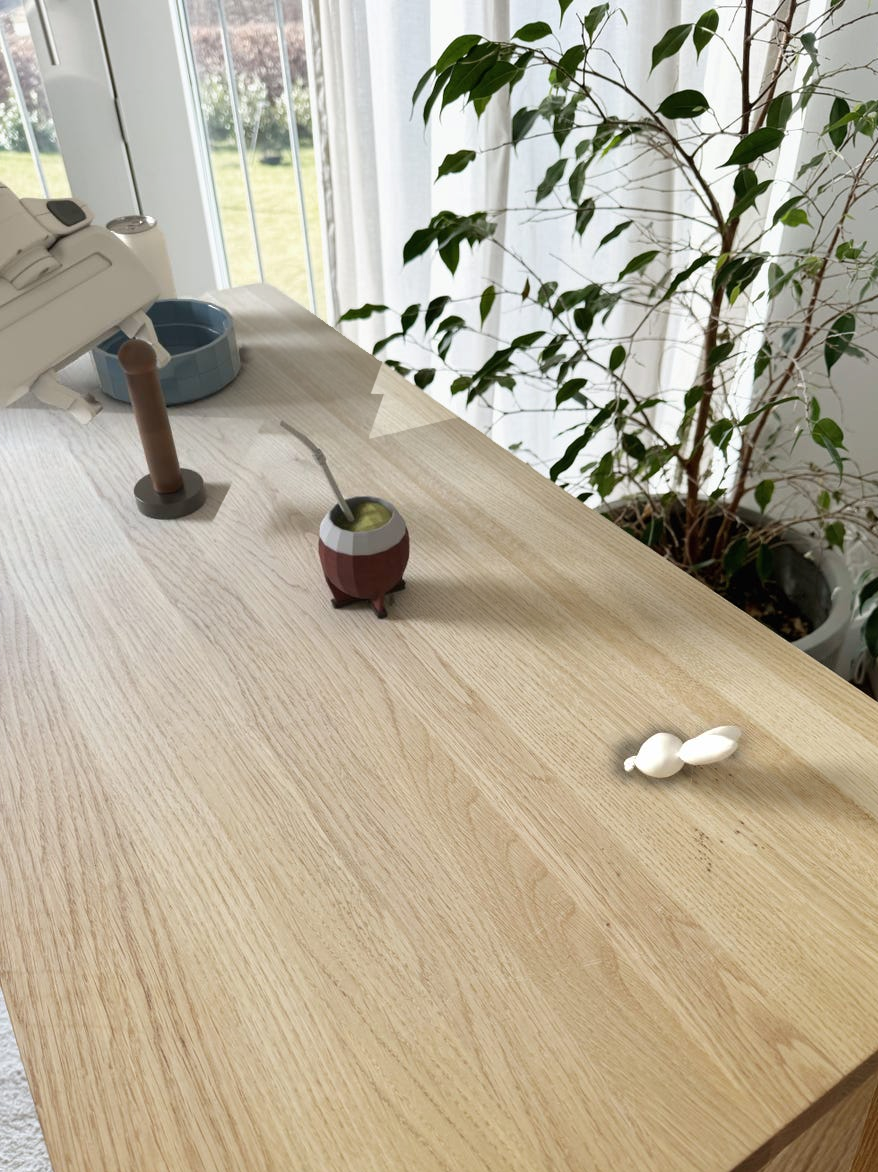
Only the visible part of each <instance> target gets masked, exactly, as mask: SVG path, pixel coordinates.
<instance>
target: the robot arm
mask: <svg viewBox="0 0 878 1172" xmlns="http://www.w3.org/2000/svg"><path fill="white" fill-rule="evenodd" d="M95 217H96V215H95V212H94V211H93V209H92V208H91V207H90V206H89V205H88V204H87V203H86V202H85V201H84V200H82V199H81V198H79V197H59V198H35V197H21V198H20V197H18V196H17V195H16V194H15V193H14V191H13V190H12V189H11V188H10V187H9V186H8V185H6V184H5V183H3V182H2V181H0V408H1V409H3V408H7V407H8V406H9V405H11V404H12V403H14V402H16V401H17V400H19V399H20V398H22V397H23V396H24V395H27V393H29V392H31V393H33V394H34V395H35V396H36V398H37V399H39V401H40V402H43V403H44V404H48V405H50V406H52V407H56V408H57V409H60V410H64V411H68V412H69V413H70V414H71V415H72V416H73V417H74V418H75V419H76V420H77V421H78V422H79V423H80V424H82V425H84V426H87V425H88V424H90V423H91V422H93V421H94V420H95V419H97V418H98V417H99V416H100V414H101V413H102V412H103V411H104V406H103V404H102V403H101V402H100V401H99V400H96V397H95V395H94V394H92V393H91V391H90V390H87V391H86V392H84V393H82V394H81V393H79V392H77V391H75V390H73V389H71V388H69V387H67V386H65V385H64V384H63V385H62V384H61V382H62V380H63V379H62V377H61V376H60V375H59V374H58V373H59V372H60V371H62V370H63V369H65V368H66V367H68V366H69V365H70V364H73V363H74V362H75V361H77V360H78V359H80V358H81V357H82V356H84V355H86V354H87V353H89V351H90V350H92V349H93V348H94V347H96V346H97V345H99V344H100V343H102V342H103V341H105V340H106V339H108V338H109V337H111V336H112V335H114V334H115V333H117V332H118V331H120V330H122V331H123V332H124V333H125V334H126V335H127V336H128V337H129V338H131V339H132V338H133V337H134V336H135V337H136V339H141V340H144V341H146V342H148V343H149V344H150V345H151V346H152V347H153V348H154V350H155V352H156V355H157V365H156V366H157V370H158V371H159V370H160V369H162V368H163V367H165V366H166V365H167V363H168V362H169V361H170V360H171V356H170V354H169V353H168V352H167V351H166V350H165V349H164V348H163V347H162V346H161V344H160V343H159V342H158V339H157V336H156V333H155V330H154V327H153V324H152V321H151V319H150V318H149V317H148V316H147V315H146V314H145V313H146V312H147V311H148V310H149V309H150V308H151V307H152V305H153V304H154V303H155V301H156V300H157V299H158V297H159V296H160V294H161V291H160V287H159V283H158V280H157V278H156V276H155V275H154V274H153V273H152V271H151V270H150V269H149V268H148V267H147V266H146V265H145V264H144V262H143V261H142V260H141V259H140V258H139V257H138V256H137V255H136V254H135V253H134V252H133V251H132V250H131V249H130V248H129V247H128V246H127V245H126V244H125V243H124V242H123V241H122V240H121V239H120V238H119V237H118V236H116V235H115V234H114V233H113V232H111V231H110V230H108V229H106V228H105V226H102V225H98V224H92V223H93V222H94V219H95Z"/></svg>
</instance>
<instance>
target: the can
mask: <svg viewBox="0 0 878 1172" xmlns="http://www.w3.org/2000/svg"><path fill="white" fill-rule="evenodd" d="M104 228H106V229H108V230H110V231H111V232H113V233H114V234H115V235H116V236H118V237H119V238H120V239H121V240H122V241H123V242H124V243H125V244H126V245H127V246H128V247H129V248H130V249H131V250H132V251H133V252H134V253H135V254H136V255H137V256H138V257H139V258H140V259H141V260H142V261H143V262H144V264H145V265H146V266H147V267H148V268H149V269H150V270H151V271H152V273H153V274H154V275H155V276H156V278H157V280H158V283H159V287H160V291H161V294H160V296H159V297H158V299H157V300H163V299H178V296H177V291H176V286H175V281H174V276H173V273H172V267H171V263H170V258H169V253H168V249H167V243H166V239H165V236H164V233H163V231H162V230H161V228H160V227H159V225H158V221H157V219H156V218H155V217H153V216H149V215H142V214H135V215H134V214H133V215H132V214H131V215H123V216H119V217H116V218H113V219H111V220H109V221H108V222H106V224H105V226H104Z"/></svg>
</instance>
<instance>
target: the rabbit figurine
mask: <svg viewBox="0 0 878 1172" xmlns="http://www.w3.org/2000/svg"><path fill="white" fill-rule="evenodd" d="M742 735H743V734H742V730H741V729H740V727H737V726H735V725H722V726H718V727H714V728H712V729H710V730H707V731H705V732H702V733H701V734H699V735H698V736H697V737H694V738H691V739H689V740H687V741H685V742H684V743H683V742H682V740H681V739H680V738H679V737H677V736H676V735H674V734H672V733H668V732H658V733H656V734H654V735H652V736H651V737H650V738H648V739H647V740H646V741H645V742H644V743H643V744H642V745H641V747H640V749H639V752H638V754H637V755H633V756H631V757H628V758H626V760H624V762H623V765H624V770H625V771H626V772H628V773H630V772H631V771H633V769H634V768H635V767H637V769H638V770H639V771H640V772H641V773H643V774H645V775H646V776H648V777H649V776H650V777H653V778H658V779H661V778H669V777H670V776H674V775H676V774H677V773H678V772H679V771H680V770H681V769H682V768H683V767H684V765H685V763H686V764H689V765H693V766H699V765H709V764H713V763H716V762H717V763H718V762H720V761H723V760H725V759H727V758H729V756H731V755H733V753H734V752H735V751H736V750H737V748H738V746H739V744H738V741H739V740H740V739H741V736H742Z"/></svg>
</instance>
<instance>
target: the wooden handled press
mask: <svg viewBox="0 0 878 1172" xmlns="http://www.w3.org/2000/svg"><path fill="white" fill-rule="evenodd" d="M118 362H119V365H120V367H121V368H122V370H123V371H124V375H125V379H126V383H127V387H128V391H129V395H130V399H131V403H132V404H131V403H130V404H131V406H132V410H133V414H134V417H135V421H136V425H137V430H138V433H139V437H140V441H141V445H142V449H143V453H144V456H145V460H146V464H147V468H148V472H149V473H148V474H145V475H144V476H143V477H141V478H140V479H139V480H138V481H137V482H136V483H135V485H134V487H133V495H134V499H135V503H136V506H137V509H138V511H139V512H140V513H141V515H143V516H145V517H147V518H149V519H153V520H159V521H169V520H176V519H181V518H185V517H187V516H190V515H192V514H194V513H196V512H198V511H199V510H200V509H201V508H202V507H203V506H204V504H206V501H207V490H206V486H205V482H204V478H203V477H202V475H201V474H200V473H199V472H197V471H195V470H193V469H190V468H186V467H185V468H184V467H181V466H180V461H179V456H178V453H177V448H176V444H175V440H174V435H173V431H172V427H171V422H170V418H169V413H168V409H167V406H166V405H165V401H164V396H163V392H162V388H161V383H160V379H159V375H158V370H157V366H156V365H157V355H156V352H155V350H154V348H153V347H152V346H151V345H150V344H149V343H148V342H146V341H144V340H141V339H130V340H128V341H126V342H124V343H123V344H122V345H121V347H120V349H119V351H118Z"/></svg>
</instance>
